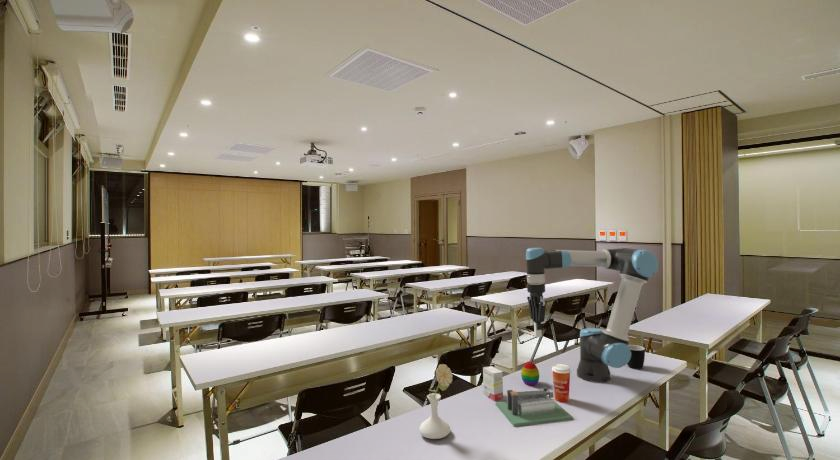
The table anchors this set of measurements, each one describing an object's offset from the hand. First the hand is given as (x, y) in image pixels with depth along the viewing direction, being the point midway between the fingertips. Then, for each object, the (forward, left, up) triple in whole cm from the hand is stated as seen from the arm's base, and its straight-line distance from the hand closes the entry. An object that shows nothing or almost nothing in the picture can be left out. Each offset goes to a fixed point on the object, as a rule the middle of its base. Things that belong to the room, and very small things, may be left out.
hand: (538, 336), depth 174 cm
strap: (+11, +14, -19) cm, 26 cm away
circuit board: (+10, +14, -26) cm, 31 cm away
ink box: (+20, -3, -26) cm, 33 cm away
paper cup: (-7, +7, -26) cm, 27 cm away
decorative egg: (-2, -12, -26) cm, 28 cm away
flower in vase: (+51, +21, -26) cm, 61 cm away
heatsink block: (+10, +14, -25) cm, 30 cm away
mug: (-62, -19, -26) cm, 70 cm away
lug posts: (+19, +14, -26) cm, 35 cm away
